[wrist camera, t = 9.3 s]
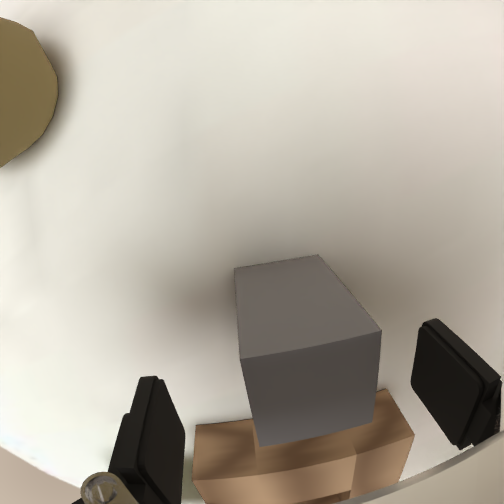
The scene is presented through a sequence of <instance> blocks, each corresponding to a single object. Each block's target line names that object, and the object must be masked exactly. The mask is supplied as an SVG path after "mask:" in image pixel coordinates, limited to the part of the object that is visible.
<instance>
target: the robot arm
mask: <svg viewBox="0 0 504 504" xmlns="http://www.w3.org/2000/svg"><path fill="white" fill-rule="evenodd" d="M500 378H501V376H500V375H499V374H498V373H497V372H496V371H495V370H494V369H493V368H491V367H490V366H489V365H488V364H487V363H486V362H485V361H484V360H483V359H482V358H481V357H480V356H479V355H478V354H477V353H476V352H475V351H473V350H472V349H471V348H470V347H469V346H468V345H467V344H466V343H465V342H464V341H463V340H461V339H460V338H459V337H458V336H457V335H456V334H455V333H454V332H453V331H452V330H450V329H449V328H448V327H447V326H446V325H445V324H444V323H443V322H441V321H440V320H439V319H437V318H435V319H432V320H429V321H426V322H424V323H423V324H422V327H420V328H419V331H418V339H417V346H416V352H415V358H414V364H413V370H412V376H411V386H412V388H413V390H414V391H415V393H416V394H417V395H418V397H419V398H420V400H421V401H422V402H423V404H424V405H425V407H426V408H427V409H428V411H429V412H430V414H431V415H432V416H433V418H434V419H435V421H436V422H437V423H438V425H439V426H440V428H441V429H442V431H443V432H444V434H445V435H446V436H447V438H448V439H449V441H450V442H451V443H452V444H453V445H456V446H457V447H458V448H459V450H462V449H464V448H465V447H467V446H469V445H471V443H472V444H473V446H474V447H472V448H471V449H469V450H467V451H465V452H463V453H461V454H459V455H457V456H455V457H453V458H451V459H449V460H447V461H445V462H443V463H441V464H439V465H437V466H435V467H433V468H431V469H429V470H426V471H424V472H422V473H420V474H417V475H415V476H413V477H410V478H408V479H405V480H403V481H400V482H398V483H395V484H392V485H390V486H387V487H384V488H382V489H379V490H376V491H373V492H370V493H367V494H364V495H361V496H357V497H354V498H351V499H347V500H344V501H340V502H337V503H333V504H504V382H502V381H501V380H500ZM184 449H185V430H184V427H183V425H182V423H181V421H180V418H179V416H178V414H177V411H176V409H175V407H174V404H173V402H172V400H171V397H170V395H169V392H168V390H167V387H166V385H165V382H164V380H163V379H158V377H157V376H146V377H141V378H140V379H139V382H138V386H137V389H136V392H135V396H134V399H133V403H132V406H131V410H130V413H126V414H125V415H124V416H123V418H122V422H121V425H120V429H119V432H118V436H117V439H116V443H115V446H114V450H113V454H112V457H111V461H110V465H109V469H108V472H98V473H95V474H92V475H91V476H89V477H88V478H87V479H86V480H85V481H84V482H83V484H82V487H81V496H82V498H80V499H79V500H77V501H75V502H74V503H72V504H181V494H182V477H183V462H184Z"/></svg>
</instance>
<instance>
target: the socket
mask: <svg viewBox="0 0 504 504" xmlns="http://www.w3.org/2000/svg"><path fill="white" fill-rule="evenodd" d="M414 436H415V434H414V433H413V431H412V429H411V428H410V426H409V424H408V423H407V421H406V419H405V418H404V416H403V414H402V413H401V411H400V409H399V408H398V406H397V404H396V403H395V401H394V400H393V398H392V396H391V395H390V393H389V392H388V390H387V389H385V390H381V391H378V392H376V398H375V405H374V413H373V420H372V423H368V424H365V425H361V426H358V427H354V428H351V429H347V430H343V431H339V432H335V433H331V434H327V435H323V436H318V437H314V438H309V439H304V440H299V441H294V442H288V443H283V444H277V445H271V446H264V447H259V442H258V438H257V434H256V430H255V425H254V421H253V419H249V420H242V421H234V422H225V423H216V424H205V425H196V431H195V443H194V456H193V470H192V482H193V483H194V485H195V487H196V488H197V490H198V492H199V493H200V495H201V497H202V498H203V500H204V501H205V503H206V504H333V503H337V502H340V501H344V500H347V499H351V498H354V497H357V496H361V495H364V494H367V493H370V492H373V491H376V490H379V489H382V488H384V487H387V486H390V485H392V484H395V483H398V481H399V479H400V476H401V474H402V471H403V468H404V466H405V463H406V460H407V457H408V454H409V451H410V448H411V445H412V442H413V439H414Z"/></svg>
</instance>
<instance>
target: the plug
mask: <svg viewBox="0 0 504 504" xmlns="http://www.w3.org/2000/svg"><path fill="white" fill-rule="evenodd" d="M234 271H235V289H236V306H237V323H238V339H239V354H240V362H241V367H242V372H243V376H244V381H245V385H246V390H247V394H248V399H249V403H250V408H251V412H252V417H253V421H254V425H255V430H256V434H257V438H258V442H259V447H264V446H271V445H277V444H283V443H288V442H294V441H299V440H304V439H309V438H314V437H318V436H323V435H327V434H331V433H335V432H339V431H343V430H347V429H351V428H354V427H358V426H361V425H365V424H368V423H372V420H373V413H374V405H375V398H376V389H377V380H378V371H379V360H380V347H381V332H382V330H381V329H380V328H379V327H378V325H377V324H376V323H375V322H374V320H373V319H372V318H371V317H370V316H369V314H368V313H367V312H366V311H365V309H364V308H363V307H362V306H361V305H360V303H359V302H358V301H357V300H356V299H355V297H354V296H353V295H352V294H351V293H350V291H349V290H348V289H347V288H346V287H345V285H344V284H343V283H342V282H341V281H340V280H339V278H338V277H337V276H336V275H335V274H334V272H333V271H332V270H331V269H330V268H329V267H328V265H327V264H326V263H325V262H324V261H323V260H322V259H321V257H320V256H319V255H313V256H307V257H301V258H295V259H289V260H283V261H277V262H271V263H265V264H258V265H252V266H246V267H240V268H234Z"/></svg>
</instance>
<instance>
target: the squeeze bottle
mask: <svg viewBox="0 0 504 504" xmlns="http://www.w3.org/2000/svg"><path fill="white" fill-rule="evenodd" d="M57 98H58V85H57V76H56V74H55V72H54V69H53V67H52V65H51V63H50V62H49V60H48V58H47V56H46V54H45V53H44V51H43V49H42V47H41V45H40V43H39V42H38V40H37V38H36V36H35V34H34V32H33V31H32V30H30V29H28V28H26V27H24V26H23V25H21V24H19V23H17V22H14V21H11V20H7V19H4V18H1V17H0V168H1V167H2V166H4V165H5V164H6V163H8V162H9V161H10V160H12V159H13V158H15V157H16V156H17V155H19V154H20V153H22V152H23V151H25V150H26V149H28V148H29V147H30V146H31V145H32V144H33V143H34V142H35V141H36V140H37V139H38V138H39V137H40V136H42V135H43V133H44V131H45V129H46V127H47V126H48V124H49V122H50V120H51V119H52V117H53V114H54V110H55V106H56V102H57Z"/></svg>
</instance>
